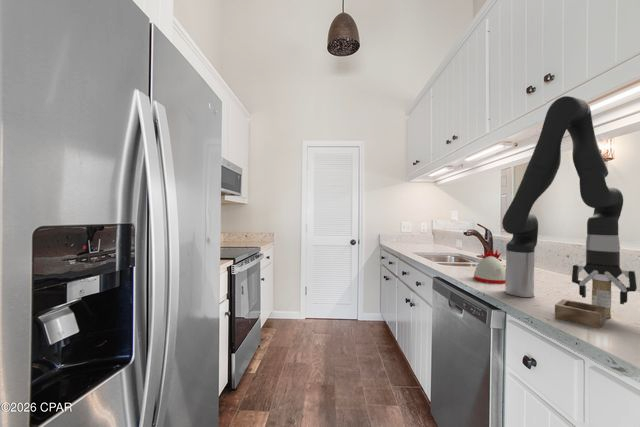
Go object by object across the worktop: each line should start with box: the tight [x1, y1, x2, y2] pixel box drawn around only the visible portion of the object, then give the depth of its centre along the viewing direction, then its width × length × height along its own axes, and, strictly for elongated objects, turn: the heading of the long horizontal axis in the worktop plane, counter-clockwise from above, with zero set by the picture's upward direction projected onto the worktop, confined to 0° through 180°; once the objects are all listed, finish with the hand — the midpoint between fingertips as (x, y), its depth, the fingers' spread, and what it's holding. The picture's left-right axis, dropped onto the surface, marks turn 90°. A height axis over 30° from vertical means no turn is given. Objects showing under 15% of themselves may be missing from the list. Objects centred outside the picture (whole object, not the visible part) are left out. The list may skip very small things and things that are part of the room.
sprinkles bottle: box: [591, 274, 612, 319], centre depth 88 cm, size 5×5×14 cm
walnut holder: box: [554, 298, 607, 329], centre depth 86 cm, size 10×10×4 cm
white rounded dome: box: [473, 249, 506, 285], centre depth 136 cm, size 14×14×15 cm
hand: (602, 300), depth 88 cm, fingers open, 8 cm apart
